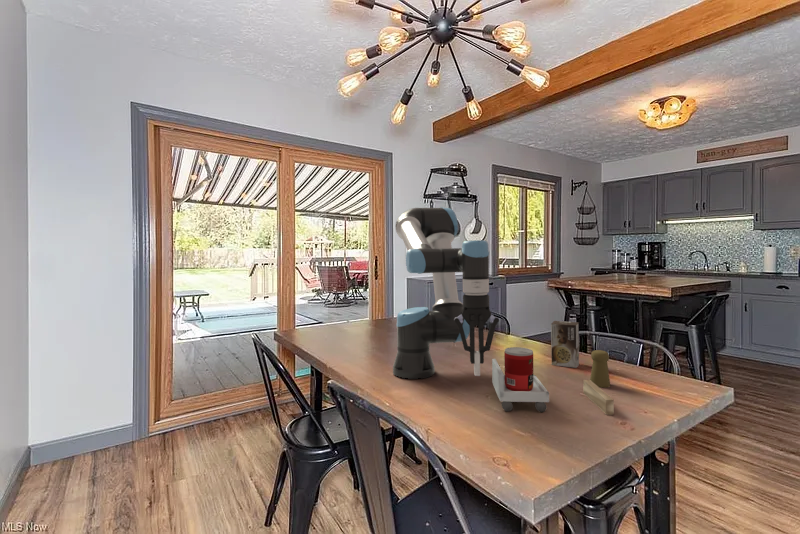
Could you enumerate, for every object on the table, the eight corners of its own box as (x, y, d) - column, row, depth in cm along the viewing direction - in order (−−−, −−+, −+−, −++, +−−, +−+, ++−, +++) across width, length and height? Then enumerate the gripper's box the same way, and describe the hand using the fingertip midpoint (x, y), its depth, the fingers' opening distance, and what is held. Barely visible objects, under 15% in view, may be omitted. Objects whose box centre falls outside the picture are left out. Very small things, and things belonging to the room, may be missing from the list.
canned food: (535, 393, 110) (535, 354, 110) (505, 391, 112) (505, 353, 111) (531, 384, 118) (531, 347, 117) (503, 382, 119) (503, 346, 119)
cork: (609, 382, 130) (610, 349, 129) (611, 388, 124) (611, 354, 124) (589, 380, 132) (589, 347, 132) (589, 386, 127) (589, 352, 126)
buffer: (605, 414, 105) (605, 399, 105) (583, 392, 121) (583, 379, 121) (613, 414, 105) (613, 399, 105) (590, 392, 121) (590, 380, 121)
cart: (500, 411, 108) (499, 373, 108) (492, 391, 123) (492, 358, 123) (549, 412, 107) (549, 374, 106) (535, 392, 122) (535, 359, 121)
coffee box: (579, 364, 151) (579, 322, 150) (576, 368, 145) (576, 325, 145) (554, 360, 156) (554, 320, 155) (550, 365, 150) (550, 322, 150)
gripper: (453, 295, 112) (455, 378, 112) (500, 294, 110) (502, 378, 111) (452, 292, 119) (454, 370, 120) (496, 292, 118) (497, 370, 118)
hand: (477, 374), depth 115 cm, fingers closed
